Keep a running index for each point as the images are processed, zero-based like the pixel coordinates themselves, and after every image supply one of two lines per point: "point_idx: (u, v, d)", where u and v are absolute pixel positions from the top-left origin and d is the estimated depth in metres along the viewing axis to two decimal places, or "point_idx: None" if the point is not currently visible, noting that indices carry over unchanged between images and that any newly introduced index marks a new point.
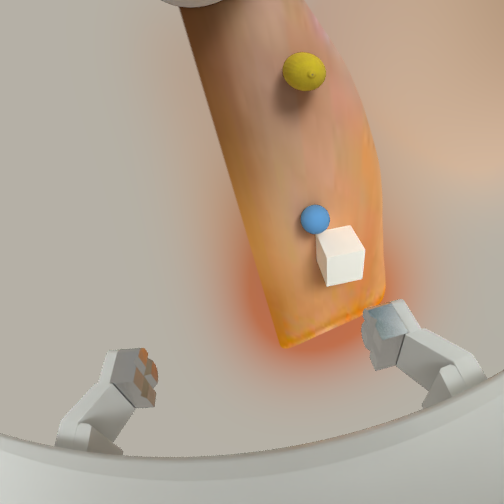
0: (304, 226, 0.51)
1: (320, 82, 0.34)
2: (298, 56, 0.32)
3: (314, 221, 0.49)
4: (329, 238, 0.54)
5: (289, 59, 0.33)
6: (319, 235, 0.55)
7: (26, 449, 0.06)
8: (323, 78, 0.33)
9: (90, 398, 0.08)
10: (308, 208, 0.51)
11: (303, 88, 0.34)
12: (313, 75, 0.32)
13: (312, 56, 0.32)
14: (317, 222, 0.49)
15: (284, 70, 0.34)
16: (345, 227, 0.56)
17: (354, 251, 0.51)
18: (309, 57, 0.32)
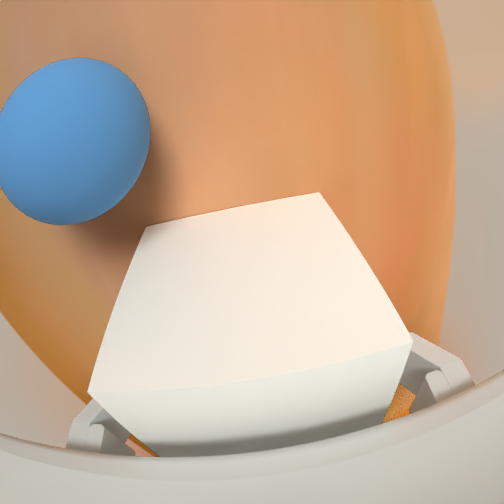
0: None
1: None
2: None
3: (3, 128, 0.05)
4: (183, 254, 0.10)
5: None
6: (149, 241, 0.11)
7: (26, 449, 0.06)
8: None
9: None
10: None
11: None
12: None
13: None
14: (13, 132, 0.05)
15: None
16: (292, 201, 0.11)
17: (320, 358, 0.06)
18: None
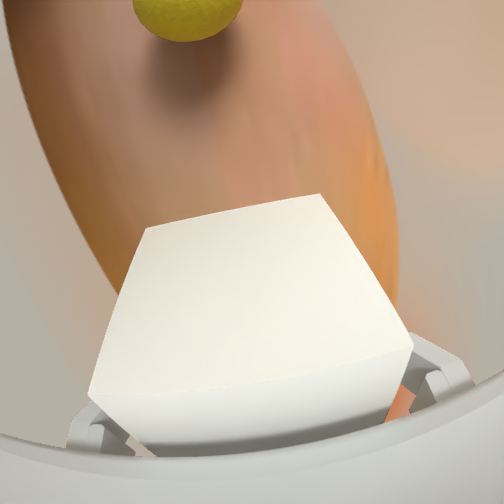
0: None
1: None
2: None
3: None
4: (184, 256, 0.10)
5: None
6: (149, 243, 0.11)
7: (26, 449, 0.06)
8: None
9: None
10: None
11: (170, 25, 0.10)
12: None
13: None
14: None
15: None
16: (292, 202, 0.11)
17: (321, 362, 0.06)
18: None
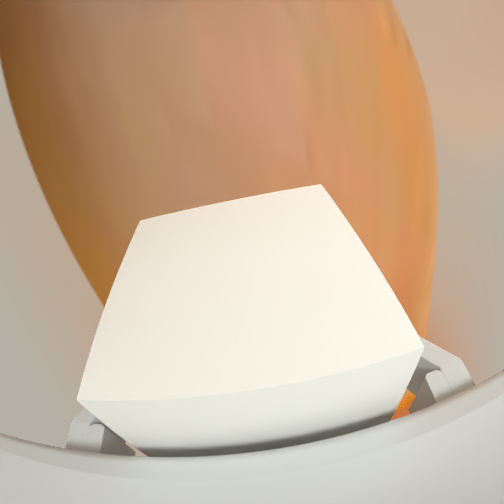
0: None
1: None
2: None
3: None
4: (178, 250, 0.09)
5: None
6: (142, 236, 0.10)
7: (26, 449, 0.06)
8: None
9: None
10: None
11: None
12: None
13: None
14: None
15: None
16: (293, 193, 0.11)
17: (325, 366, 0.05)
18: None
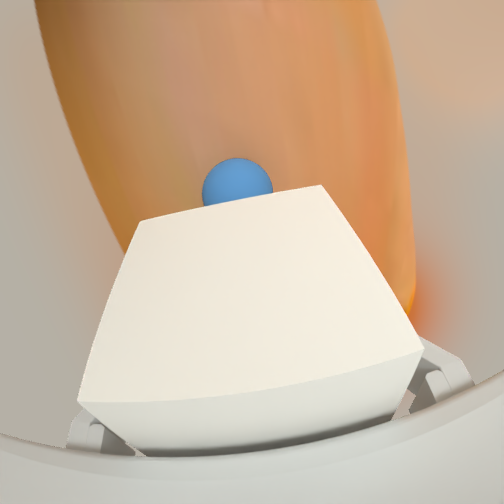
0: None
1: None
2: None
3: None
4: (178, 251, 0.09)
5: None
6: (142, 237, 0.10)
7: (26, 449, 0.06)
8: None
9: None
10: None
11: None
12: None
13: None
14: None
15: None
16: (293, 194, 0.11)
17: (325, 368, 0.05)
18: None
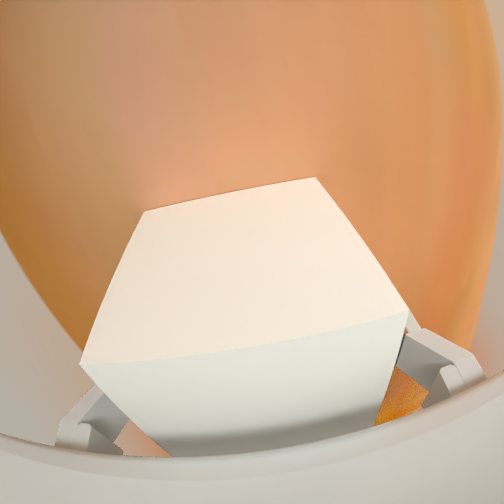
0: None
1: None
2: None
3: None
4: (180, 234, 0.10)
5: None
6: (146, 224, 0.11)
7: (26, 449, 0.06)
8: None
9: (90, 398, 0.08)
10: None
11: None
12: None
13: None
14: None
15: None
16: (288, 185, 0.11)
17: (314, 326, 0.06)
18: None
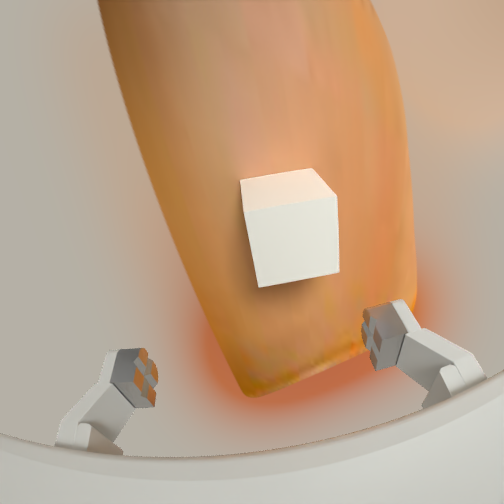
0: None
1: None
2: None
3: None
4: (263, 185, 0.26)
5: None
6: (245, 183, 0.28)
7: (26, 449, 0.06)
8: None
9: (90, 398, 0.08)
10: None
11: None
12: None
13: None
14: None
15: None
16: (301, 170, 0.28)
17: (311, 199, 0.22)
18: None
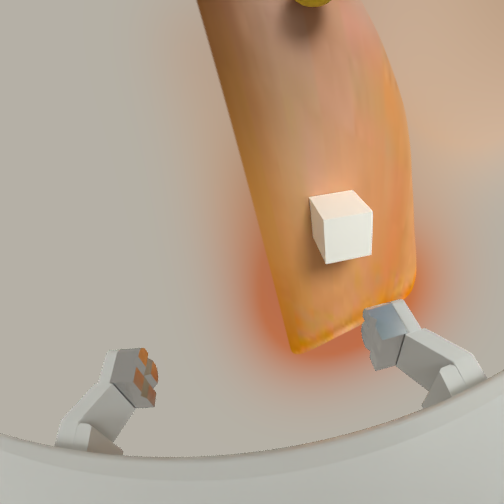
0: None
1: None
2: None
3: None
4: (326, 202, 0.43)
5: None
6: (314, 200, 0.44)
7: (26, 449, 0.06)
8: None
9: (90, 398, 0.08)
10: None
11: None
12: None
13: None
14: None
15: None
16: (346, 191, 0.44)
17: (359, 213, 0.39)
18: None
